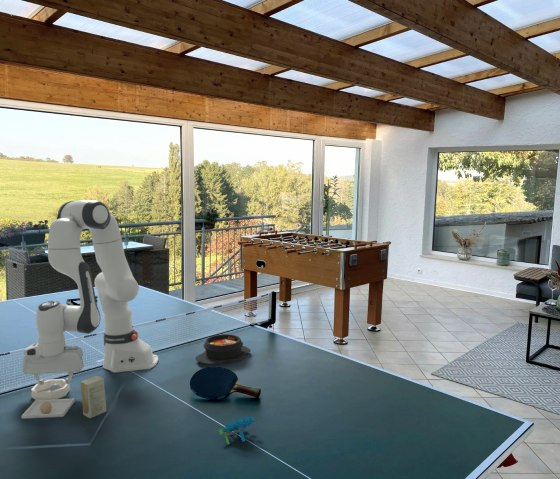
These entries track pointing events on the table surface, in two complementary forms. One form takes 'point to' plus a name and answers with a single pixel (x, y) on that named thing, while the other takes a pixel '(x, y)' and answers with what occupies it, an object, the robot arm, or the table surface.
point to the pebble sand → (46, 407)
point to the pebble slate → (55, 387)
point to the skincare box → (93, 396)
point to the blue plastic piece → (236, 428)
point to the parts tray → (57, 409)
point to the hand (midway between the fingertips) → (54, 384)
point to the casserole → (222, 349)
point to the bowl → (44, 390)
